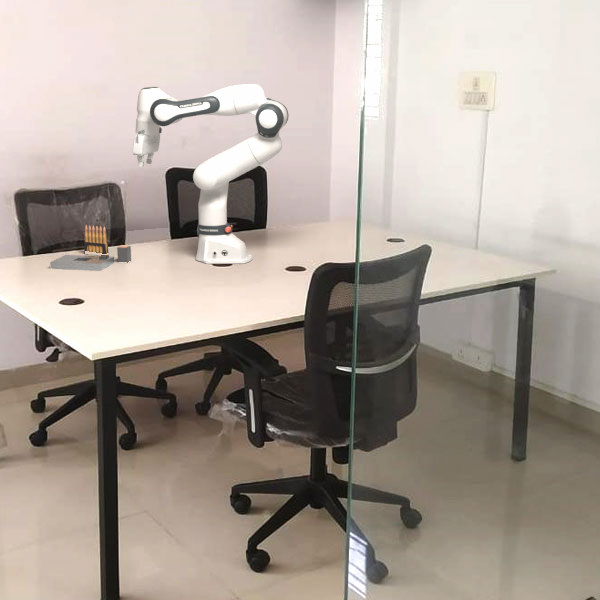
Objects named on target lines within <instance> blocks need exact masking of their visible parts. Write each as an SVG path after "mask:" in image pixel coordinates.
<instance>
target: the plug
mask: <svg viewBox="0 0 600 600" xmlns="http://www.w3.org/2000/svg"><path fill="white" fill-rule="evenodd" d="M131 247H132V246H131V245H125V244H124V245H123V244H121V245H119V246H118V247H117V248H116V250H117V251H116V252H117V263H118V262H127V263H126V264H129V263H130V262H132V249H131ZM129 261H130V262H129ZM128 262H129V263H128Z"/></svg>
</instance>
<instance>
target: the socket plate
mask: <svg viewBox="0 0 600 600" xmlns="http://www.w3.org/2000/svg"><path fill="white" fill-rule="evenodd" d="M114 262H115V256H110V255H101V256H98V255H85V254H84V255H80V254H78V255H77V254H64V255H62V256H60V257H58V258H56V259H54V260H51V261H50V262H49V263H50V264H49V265H50V266H49V267H50V269H51V268H52V270H53V269H54V270H74V271H75V270H78V271H101V272H102V270H104V269H106V268H108V267H109V266H112V265H113V263H114ZM111 264H112V265H111ZM114 264H115V263H114Z"/></svg>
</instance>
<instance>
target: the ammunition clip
mask: <svg viewBox="0 0 600 600" xmlns="http://www.w3.org/2000/svg"><path fill="white" fill-rule="evenodd" d="M83 244H84V252H85V251H89V252H96V253H102V254H107V253H110V252H109V246H108V245H109V243H108V236H107V230H106V227H105V226H103V229H102V226H101V225H100V226H99V227H98V225H96V226H94V225H92V227H91V225H90V224H89V225H87V224H85V227H84V242H83Z"/></svg>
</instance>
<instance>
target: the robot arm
mask: <svg viewBox="0 0 600 600" xmlns="http://www.w3.org/2000/svg"><path fill="white" fill-rule="evenodd" d="M136 104H137V105H136V112H137V115H136V120H135V134H136V135H135V136H134V139H133V143H132V144H133V148H132V154H133V155H134V156H136V158H137V165H138V167H140V168H142V167H144V165H145V164H144V163H145V161H144V156H145V155H147V159H146V164H147V165H151V164H152V163H153V158H154V155H155V153H156V152H158V151H159V148H160V142H161V141H160V140H161V134H162V132H163V128H162V127H167V126H170V125H173V124H177V123H178V122H180V121H182V120H183V119H184V118H188V117H189V118H191V117H196V116H220V117H221V116H222V117H223V116H224V117H225V116H226V117H231V116H232V117H234V116H239V115H245V114H252V115H254V116H255V125H256V127H257V133H255V134H254V135H252V136H250V137H248V138H246V139H245V140H242V141H241V142H239V143H237V144H235V145H233V146H232V147H229V148H228V149H226V150H224V151H222V152H220V153H218V154H216V155H214V156H213V157H210V158H209V159H206V160H204V161H202V162H201V163H200V164H198V165H197V166H196V167H195V169H194V172H193V175H192V179H193V182H194V185H196V187H197V188H198V189H200V191H199V192H200V194H199V199H198V205H197V206H198V207H197V208H198V224H197V238H198V241H197V242H198V243H197V252H196V256H195V260H196V261H198V262H202V263H204V264H207V265H208V264H218V265H219V264H247V263H249V262H251V261H253V255H252V254H251V253H250V254H248V250H247V245H246V243H245V242H244V241H242V240H241V239H240V238H239V237H238V236H236V235H235V234H234V233H233V225H232V224H231V225H230V224H229V223H228V221H227V220H228V218H227V217H228V215H227V214H228V212H227V210H228V209H227V207H228V205H227V203H228V195H229V182H230V181H233V180H235V179H237V178H238V177H240V176H242V175H244V174H246V173H247V172H250V171H251V170H254V169H256V168H257V167H259V166H261V165H263V164H264V163H267V162H268V161H270V160H271V159H273V158H274V157H275V156H276V155H278V154H279V153H280V152H281V151H282V148H283V142H282V138H281V137H280V131H281V130H282V129H283V128H284V126H286V124H287V123H288V121H289V111H288V108H287V107H286V105H285V104H284V103H282V102H280V101H277V100H275V99H272V98H270V97H266V93H265V91H264V89H263V87H262V86H260V85H259V84H257V83H243V84H234V85H229V86H225V87H222V88H219V89H217V90H213V91H212V92H210V93H208V94H205V95H203V96H199V97H197V98H190V99H184V100H179V99H177V98H175V97H173V96H170V95H168V94H167V93H165V92H164V91H163V90H162V89H161V88H160V87H158V86H149V87H143V88H141V89H140V90H139V92H138V96H137V103H136Z"/></svg>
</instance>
